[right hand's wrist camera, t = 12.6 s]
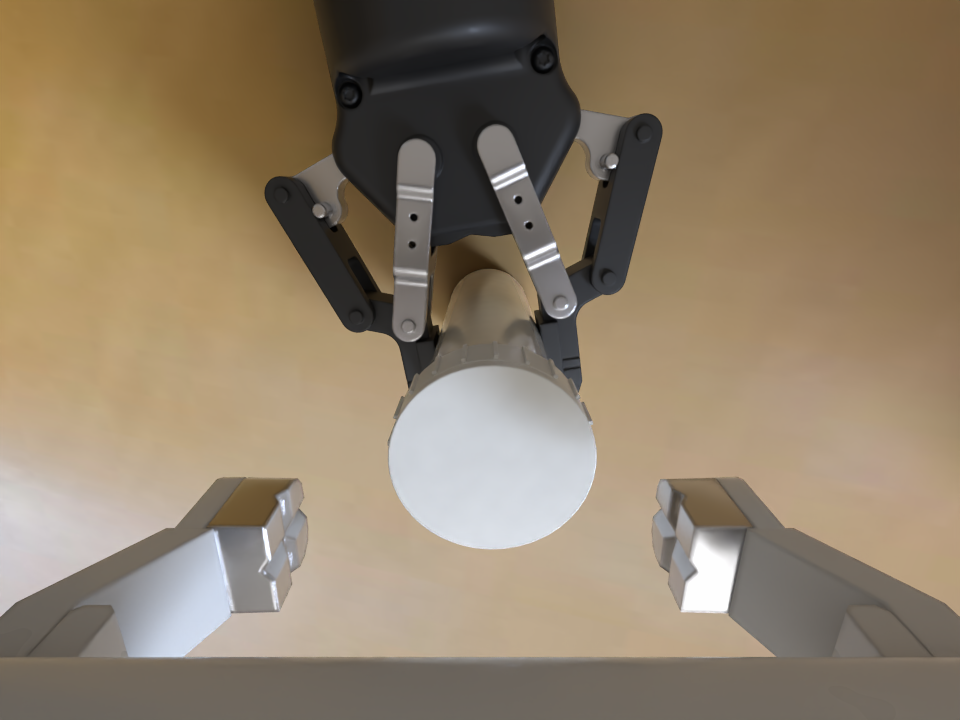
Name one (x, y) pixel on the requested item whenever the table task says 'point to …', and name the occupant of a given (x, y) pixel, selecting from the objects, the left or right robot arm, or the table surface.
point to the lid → (492, 447)
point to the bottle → (488, 314)
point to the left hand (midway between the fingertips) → (500, 408)
